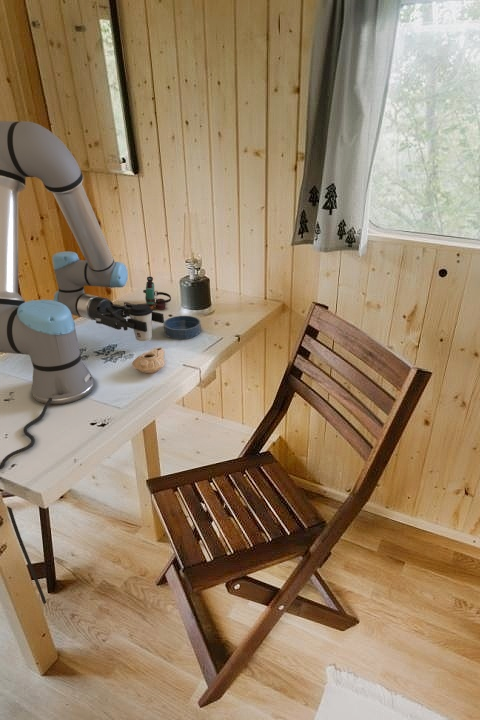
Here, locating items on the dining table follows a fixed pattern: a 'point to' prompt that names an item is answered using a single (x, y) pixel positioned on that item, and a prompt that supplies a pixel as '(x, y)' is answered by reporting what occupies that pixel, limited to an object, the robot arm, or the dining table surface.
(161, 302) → the green and brown piece
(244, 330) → the dining table surface
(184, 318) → the bowl
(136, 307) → the coffee cup
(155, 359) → the pottery oil lamp
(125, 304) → the robot arm
